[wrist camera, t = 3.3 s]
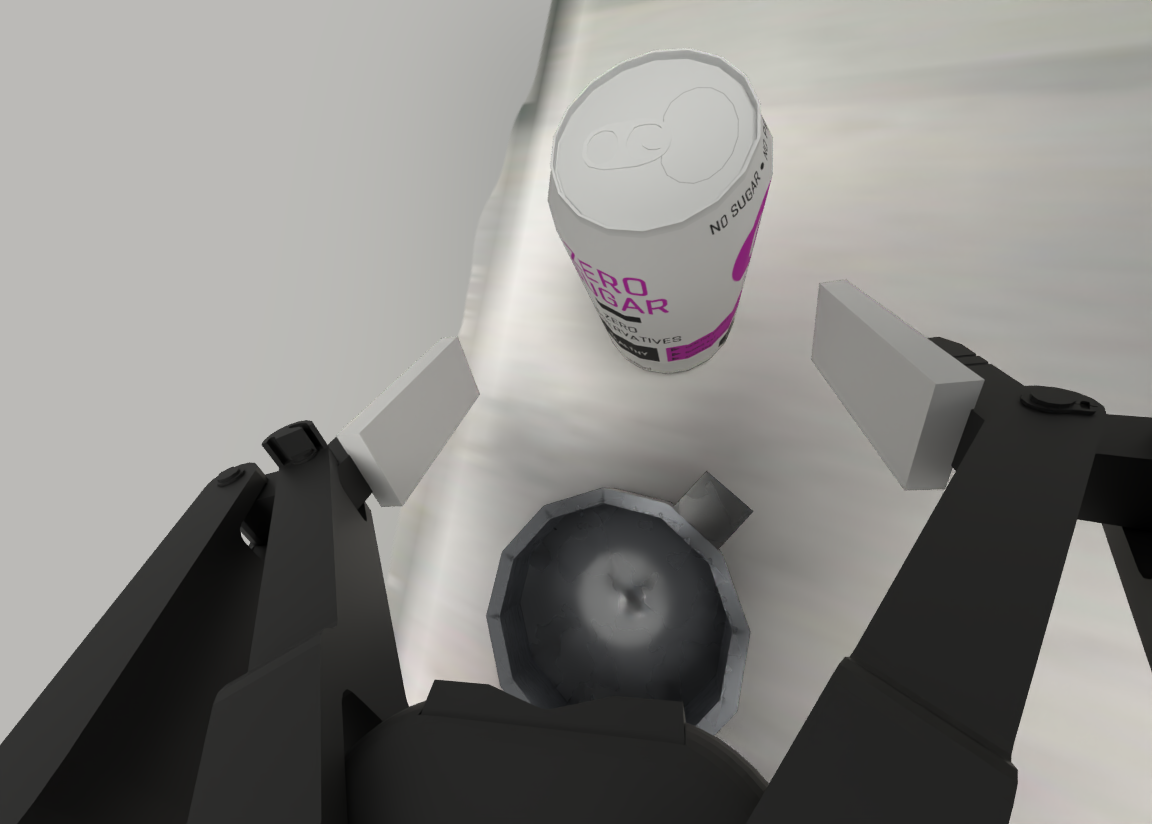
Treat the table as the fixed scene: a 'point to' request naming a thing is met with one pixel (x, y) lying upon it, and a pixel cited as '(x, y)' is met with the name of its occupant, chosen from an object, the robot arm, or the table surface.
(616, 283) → the supplement can
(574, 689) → the cooker pot
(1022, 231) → the table surface
